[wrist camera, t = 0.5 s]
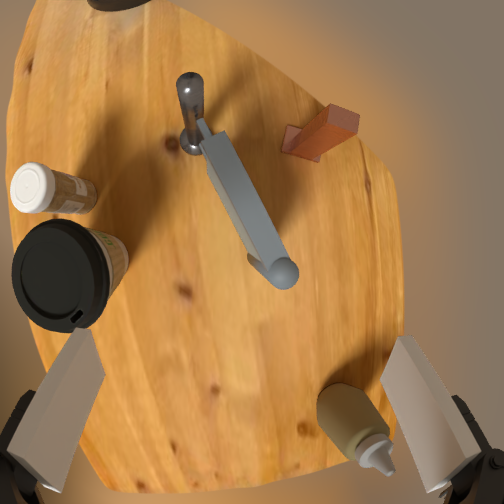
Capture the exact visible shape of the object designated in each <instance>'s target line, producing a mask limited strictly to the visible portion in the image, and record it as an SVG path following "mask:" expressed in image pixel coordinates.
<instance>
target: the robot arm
mask: <svg viewBox="0 0 504 504" xmlns="http://www.w3.org/2000/svg"><path fill="white" fill-rule="evenodd" d="M148 1H150V0H87V2H88V3H89V5H90V6H91V7H93V8H94V9H97V10H100V11H120V10H126V9H130V8H133V7H136V6H139V5H141V4H144V3H146V2H148ZM104 377H105V372H104V369H103V366H102V363H101V360H100V358H99V355H98V352H97V348H96V345H95V342H94V339H93V336H92V332H91V330H90V329H83V328H75V330H74V331H73V333H72V334H71V336H70V337H69V339H68V340H67V342H66V344H65V345H64V347H63V348H62V350H61V351H60V353H59V355H58V356H57V358H56V359H55V361H54V363H53V364H52V366H51V368H50V369H49V371H48V373H47V374H46V376H45V378H44V380H43V381H42V383H41V385H40V387H39V388H38V390H37V392H36V391H32V390H28V391H27V392H26V393H25V394H24V395H23V396H22V397H21V398H20V400H19V401H18V403H17V405H16V406H15V409H14V410H13V412H12V414H11V417H10V418H9V419H8V421H7V423H6V425H5V427H4V429H3V431H2V433H1V435H0V504H44V502H43V500H42V497H41V494H40V492H39V490H38V488H37V486H36V483H37V481H39V482H40V483H41V484H42V485H43V486H44V487H47V488H49V489H51V490H54V491H57V492H59V493H61V492H62V490H63V486H64V483H65V480H66V477H67V474H68V471H69V468H70V465H71V461H72V459H73V456H74V453H75V451H76V447H77V445H78V442H79V439H80V437H81V434H82V431H83V429H84V426H85V424H86V421H87V418H88V416H89V413H90V411H91V408H92V406H93V403H94V401H95V398H96V396H97V394H98V391H99V389H100V386H101V384H102V382H103V379H104ZM380 381H381V383H382V386H383V388H384V390H385V392H386V394H387V397H388V399H389V401H390V403H391V406H392V408H393V410H394V412H395V415H396V417H397V419H398V421H399V424H400V426H401V428H402V431H403V433H404V436H405V438H406V440H407V443H408V446H409V448H410V450H411V453H412V455H413V458H414V460H415V463H416V466H417V468H418V471H419V473H420V476H421V479H422V481H423V484H424V486H425V489H426V492H427V493H428V492H430V491H433V490H436V489H438V488H440V487H443V486H444V485H445V484H446V483H447V482H449V481H451V483H452V485H451V486H450V487H448V488H447V489H446V490H444V491H443V492H442V493H441V494H440V496H439V497H440V498H441V497H442V496H444V495H445V494H447V495H446V497H445V498H444V499H445V501H444V503H443V504H504V452H503V451H502V450H500V449H492V448H491V446H490V445H489V443H488V441H487V439H486V438H485V436H484V434H483V432H482V430H481V429H480V427H479V425H478V423H477V422H476V421H475V420H474V419H475V418H474V417H473V415H472V413H470V410H469V408H468V407H467V405H466V403H465V402H464V401H463V400H462V399H461V398H459V397H458V396H457V395H454V396H450V394H449V393H448V391H447V389H446V388H445V386H444V384H443V383H442V381H441V379H440V378H439V376H438V375H437V373H436V371H435V370H434V368H433V367H432V365H431V364H430V362H429V360H428V359H427V357H426V356H425V355H424V353H423V351H422V350H421V348H420V347H419V345H418V344H417V342H416V341H415V339H414V338H413V336H412V335H409V336H398V338H397V340H396V343H395V345H394V348H393V350H392V353H391V355H390V357H389V360H388V362H387V364H386V367H385V369H384V371H383V374H382V376H381V378H380Z"/></svg>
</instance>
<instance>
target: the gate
mask: <svg viewBox="0 0 504 504" xmlns="http://www.w3.org/2000/svg"><path fill="white" fill-rule="evenodd" d="M196 122H197V126H198V128H199V130H200V132H201V133H202V135H203V137H204V139H205V140H203V141H201V143H200V144H199V147H200V149H201V151H202V153H203V155H204V157H205V159H206V161H207V174H208V176H209V178H210V180H211V182H212V183H213V185H214V187H215V189H216V191H217V193H218V195H219V197H220V199H221V201H222V203H223V205H224V207H225V209H226V211H227V213H228V215H229V216H230V218H231V220H232V222H233V224H234V226H235V228H236V230H237V232H238V234H239V236H240V238H241V240H242V242H243V244H244V245H245V247H246V249H247V251H248V254H247V259H248V261H249V263H250V264H251V265H252V266H253V267H254V268H255V269H256V270H257V271H258V272H260V273H261V274H262V275H263V276H264V277H265V278H266V279H267V280H268V281H269V282H270V283H271V284H272V285H273V286H274V287H276V288H278V289H281V290H285V289H289V288H291V287H293V286H294V285H295V284H296V282H297V281H298V278H299V269H298V267H297V265H296V264H295V263H294V262H293V261H291V259H290V257H289V255H288V253H287V251H286V249H285V247H284V245H283V243H282V241H281V239H280V237H279V235H278V233H277V231H276V229H275V227H274V225H273V223H272V221H271V219H270V217H269V215H268V213H267V211H266V209H265V207H264V205H263V203H262V201H261V199H260V197H259V195H258V193H257V191H256V189H255V187H254V186H253V184H252V182H251V180H250V178H249V176H248V174H247V172H246V170H245V168H244V166H243V164H242V162H241V161H240V159H239V157H238V155H237V153H236V151H235V149H234V147H233V145H232V143H231V142H230V140H229V138H228V136H227V134H226V132H225V130H224V131H222V132H220V133H218V134H215V135H213V136H212V134H211V132H210V130H209V129H208V127H207V125H206V123H205V121H204V119H203V118H201V119H199V120H197V121H196Z"/></svg>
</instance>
